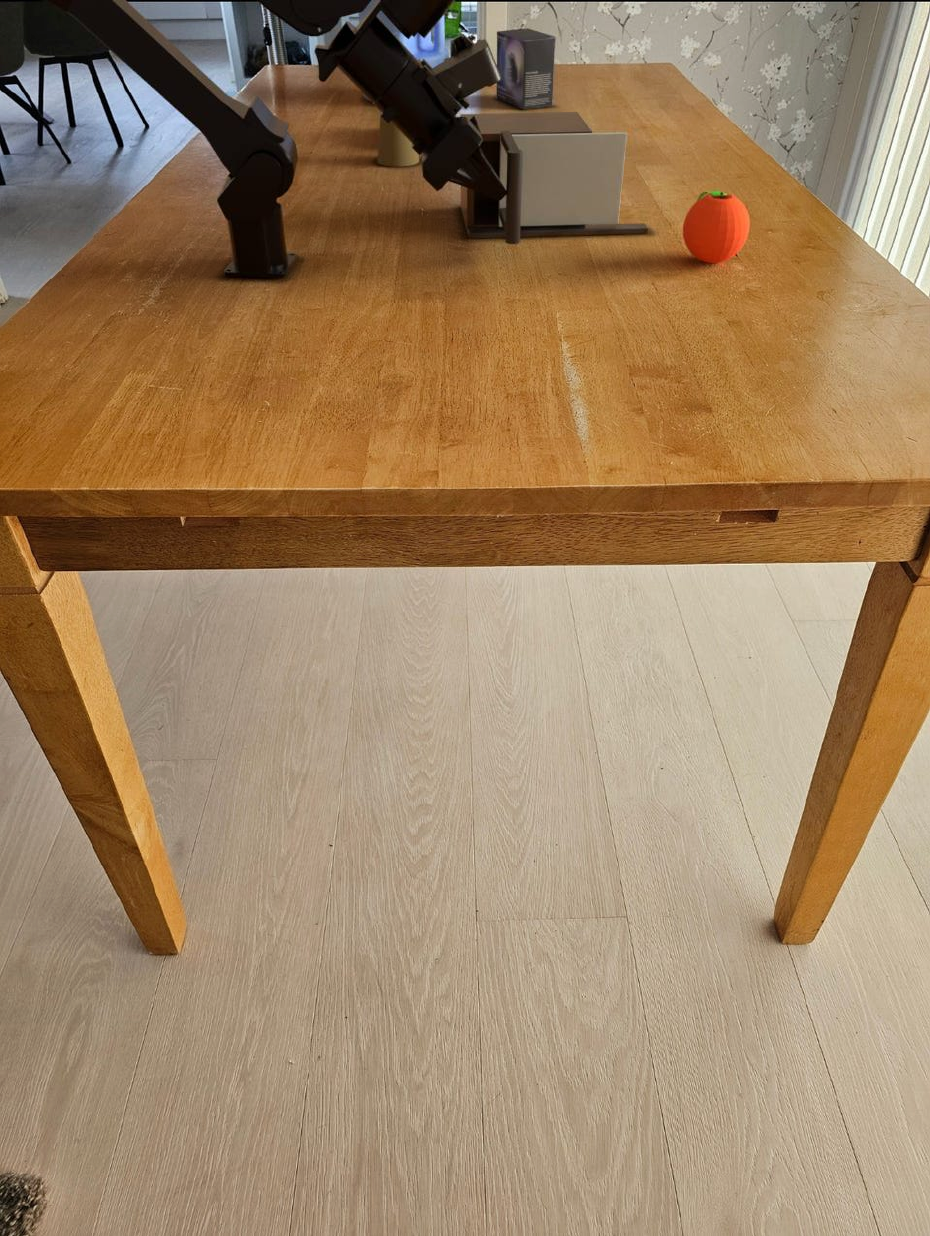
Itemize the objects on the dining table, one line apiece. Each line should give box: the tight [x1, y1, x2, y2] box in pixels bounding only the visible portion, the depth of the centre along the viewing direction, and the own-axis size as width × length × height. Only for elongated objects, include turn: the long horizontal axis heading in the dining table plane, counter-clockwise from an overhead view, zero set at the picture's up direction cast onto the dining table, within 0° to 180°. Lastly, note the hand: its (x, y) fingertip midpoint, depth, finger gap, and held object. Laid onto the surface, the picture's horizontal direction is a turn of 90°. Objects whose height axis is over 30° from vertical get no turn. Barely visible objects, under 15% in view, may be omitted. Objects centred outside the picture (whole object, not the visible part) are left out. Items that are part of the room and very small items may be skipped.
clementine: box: [682, 190, 751, 264], centre depth 100 cm, size 8×7×7 cm
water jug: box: [357, 0, 450, 103], centre depth 159 cm, size 16×16×28 cm
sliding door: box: [499, 131, 628, 245], centre depth 103 cm, size 14×10×10 cm
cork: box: [376, 110, 420, 168], centre depth 131 cm, size 6×6×11 cm
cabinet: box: [459, 111, 649, 239], centre depth 110 cm, size 21×12×10 cm, turn 94°
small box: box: [495, 27, 557, 110], centre depth 162 cm, size 11×6×10 cm, turn 25°
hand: (503, 196), depth 98 cm, fingers closed
